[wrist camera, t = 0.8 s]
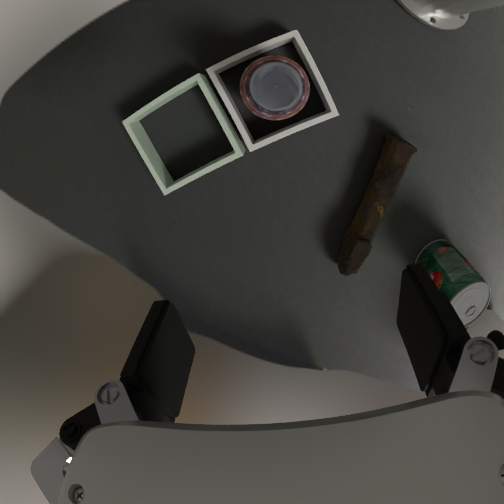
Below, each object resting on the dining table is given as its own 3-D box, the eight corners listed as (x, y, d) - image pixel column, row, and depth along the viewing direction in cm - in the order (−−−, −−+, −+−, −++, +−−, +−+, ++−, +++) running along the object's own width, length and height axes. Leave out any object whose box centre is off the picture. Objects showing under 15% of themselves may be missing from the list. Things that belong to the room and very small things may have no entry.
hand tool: (382, 129, 30) (397, 134, 26) (408, 143, 30) (425, 151, 26) (320, 257, 39) (325, 277, 35) (345, 266, 40) (352, 286, 36)
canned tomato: (404, 263, 38) (435, 313, 29) (442, 228, 35) (482, 270, 26) (427, 291, 41) (455, 338, 31) (462, 259, 38) (496, 302, 28)
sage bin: (204, 75, 28) (198, 73, 25) (245, 150, 32) (243, 155, 30) (133, 119, 31) (122, 121, 28) (172, 187, 35) (164, 195, 32)
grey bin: (294, 35, 25) (296, 29, 22) (333, 113, 29) (339, 115, 27) (211, 71, 28) (205, 69, 25) (251, 147, 32) (250, 152, 29)
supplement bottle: (236, 100, 29) (220, 101, 20) (261, 56, 27) (257, 35, 17) (284, 124, 30) (291, 137, 21) (309, 81, 28) (329, 73, 18)
